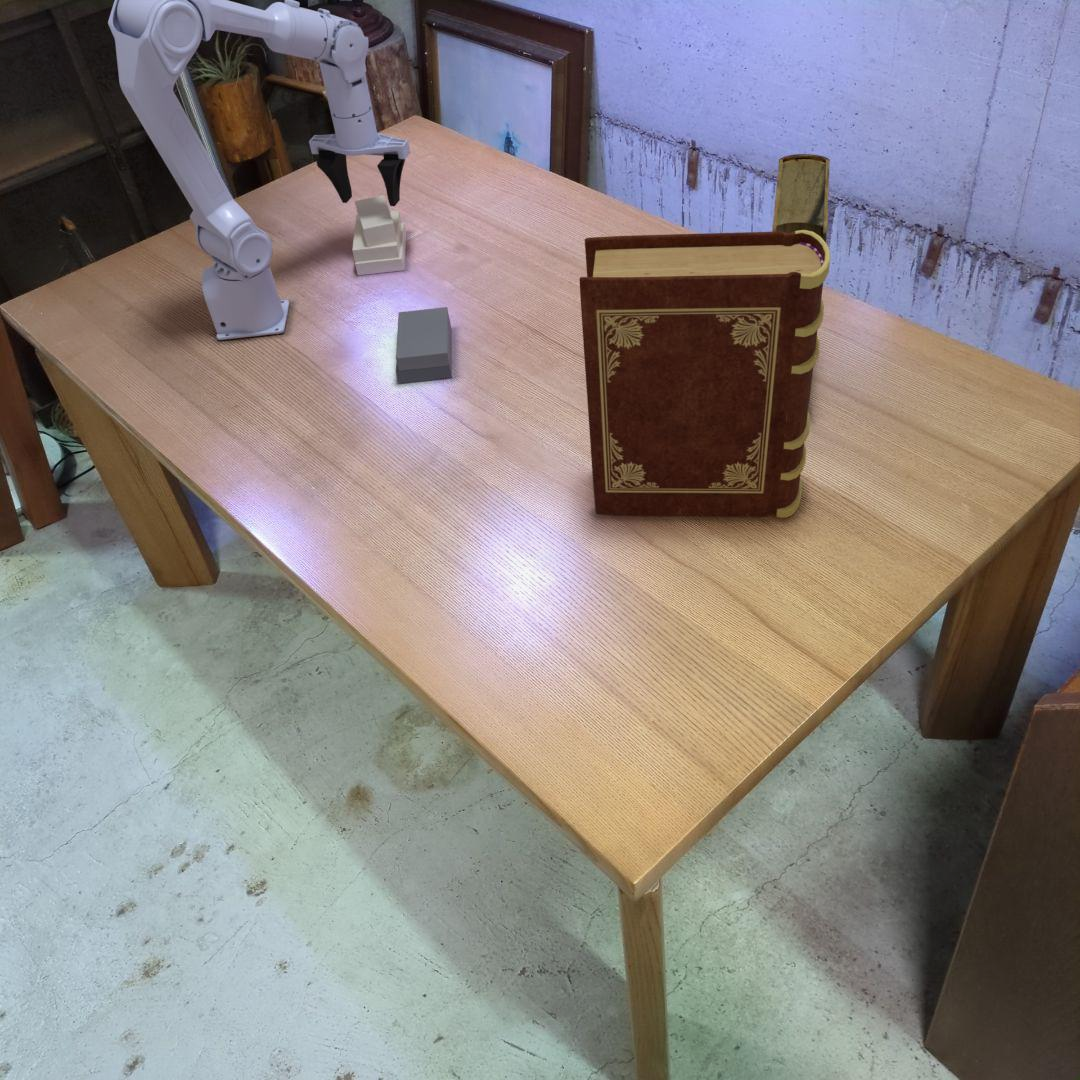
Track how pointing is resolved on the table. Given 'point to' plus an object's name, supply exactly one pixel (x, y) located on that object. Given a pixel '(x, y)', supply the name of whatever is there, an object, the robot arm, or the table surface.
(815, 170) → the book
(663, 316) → the decorative book
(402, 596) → the table surface
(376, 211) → the cream rectangular block
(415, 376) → the grey stack
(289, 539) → the table surface
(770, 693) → the table surface
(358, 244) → the cream stack
